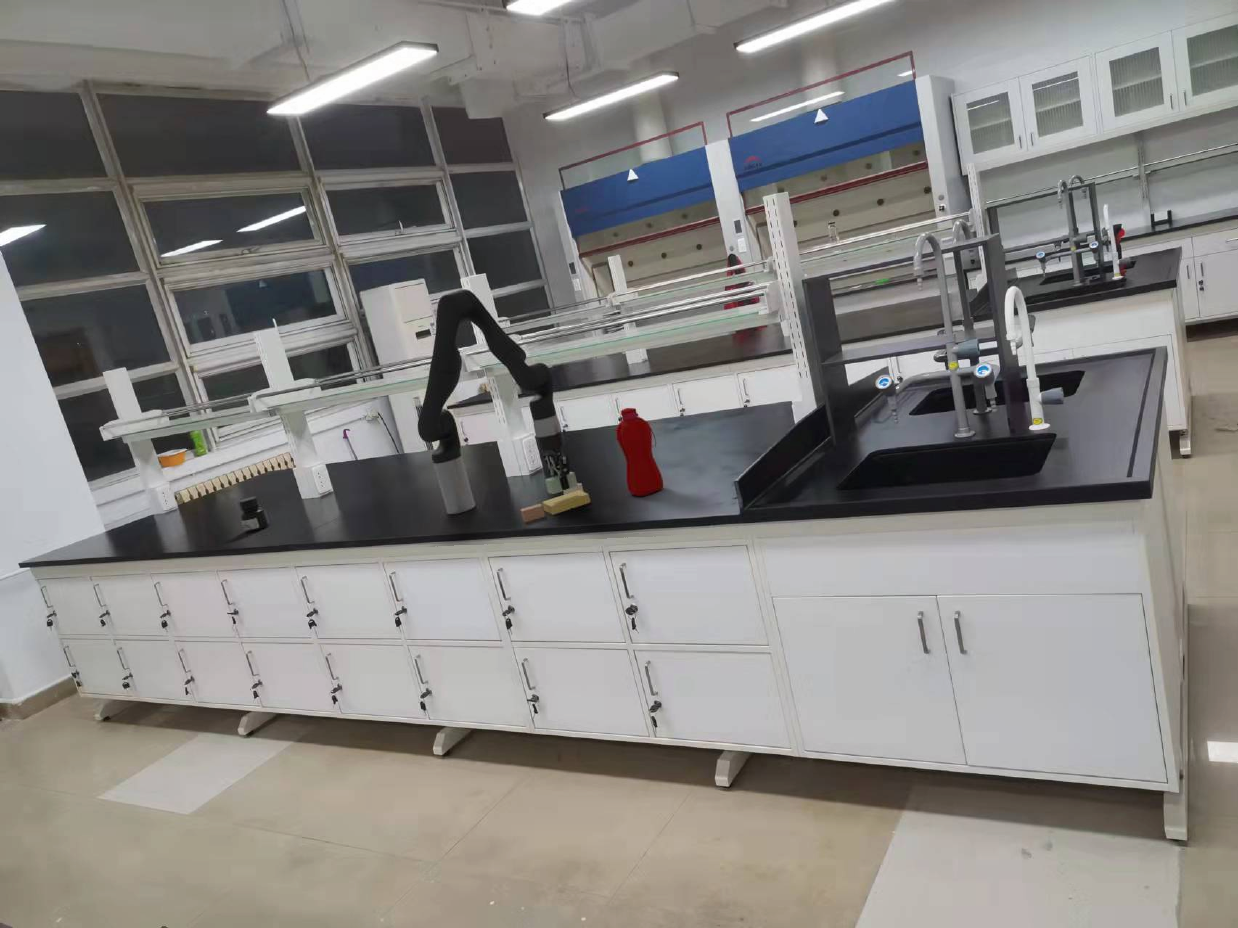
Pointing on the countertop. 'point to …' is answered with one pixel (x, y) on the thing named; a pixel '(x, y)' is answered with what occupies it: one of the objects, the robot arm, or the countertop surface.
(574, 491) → the cream brick
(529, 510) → the rust brick
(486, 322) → the robot arm
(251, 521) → the ink bottle
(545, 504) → the mustard base brick
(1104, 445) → the countertop surface
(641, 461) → the water bottle
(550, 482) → the sage brick
